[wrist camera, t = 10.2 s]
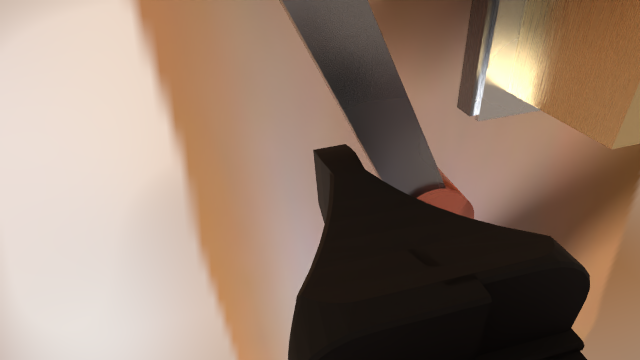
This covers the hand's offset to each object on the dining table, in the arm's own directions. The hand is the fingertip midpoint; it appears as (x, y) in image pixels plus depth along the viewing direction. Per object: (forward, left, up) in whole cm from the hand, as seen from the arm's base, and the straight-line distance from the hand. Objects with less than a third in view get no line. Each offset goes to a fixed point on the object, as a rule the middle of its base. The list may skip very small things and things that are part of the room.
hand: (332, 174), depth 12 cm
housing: (+2, -10, -3) cm, 11 cm away
